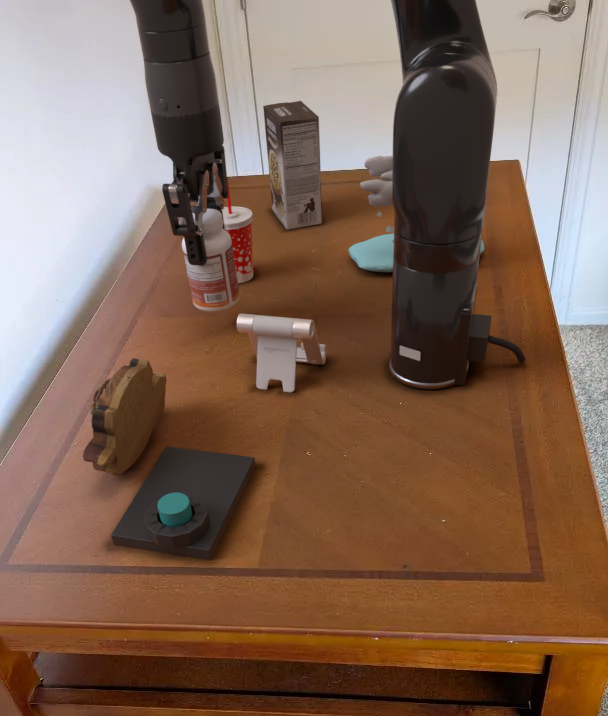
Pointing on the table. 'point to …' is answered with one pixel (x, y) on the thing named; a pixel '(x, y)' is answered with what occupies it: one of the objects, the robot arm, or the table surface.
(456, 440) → the table surface
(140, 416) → the wooden carving
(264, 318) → the tablet stand
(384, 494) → the table surface
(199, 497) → the black push button board
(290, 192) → the coffee box
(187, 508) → the tare button
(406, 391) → the table surface
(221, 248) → the pill bottle
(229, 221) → the beverage cup
